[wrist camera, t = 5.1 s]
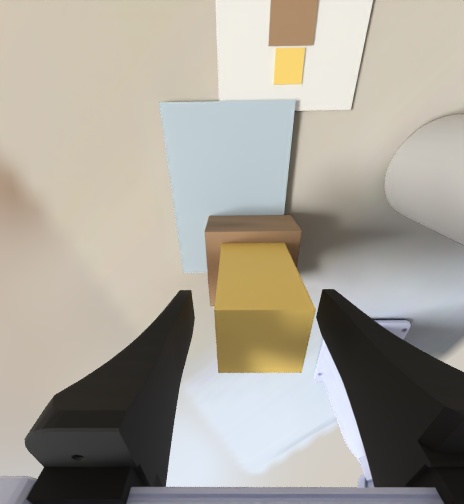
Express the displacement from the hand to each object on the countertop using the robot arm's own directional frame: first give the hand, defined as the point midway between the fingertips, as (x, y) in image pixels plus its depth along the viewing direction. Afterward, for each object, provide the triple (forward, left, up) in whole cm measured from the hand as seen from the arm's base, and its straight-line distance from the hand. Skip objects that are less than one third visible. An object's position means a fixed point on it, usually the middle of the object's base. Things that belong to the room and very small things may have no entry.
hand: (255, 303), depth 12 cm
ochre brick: (0, 0, -3) cm, 3 cm away
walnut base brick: (0, 0, -6) cm, 6 cm away
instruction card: (+13, -2, -7) cm, 14 cm away
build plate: (+4, +2, -7) cm, 8 cm away
